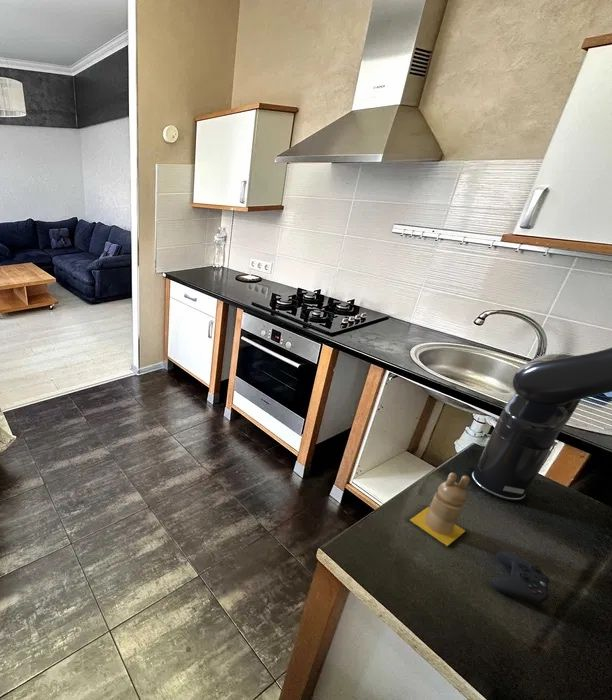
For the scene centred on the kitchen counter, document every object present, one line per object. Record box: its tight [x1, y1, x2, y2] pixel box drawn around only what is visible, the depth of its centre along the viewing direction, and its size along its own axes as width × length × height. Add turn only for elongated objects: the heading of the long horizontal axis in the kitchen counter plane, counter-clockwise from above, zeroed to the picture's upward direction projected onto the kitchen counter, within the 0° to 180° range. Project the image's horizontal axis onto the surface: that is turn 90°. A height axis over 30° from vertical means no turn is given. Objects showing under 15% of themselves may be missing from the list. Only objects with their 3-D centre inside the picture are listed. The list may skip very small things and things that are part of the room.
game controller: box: [490, 551, 550, 608], centre depth 65 cm, size 10×5×6 cm
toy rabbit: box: [424, 472, 471, 535], centre depth 74 cm, size 5×5×13 cm
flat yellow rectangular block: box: [409, 506, 466, 547], centre depth 77 cm, size 7×7×1 cm
